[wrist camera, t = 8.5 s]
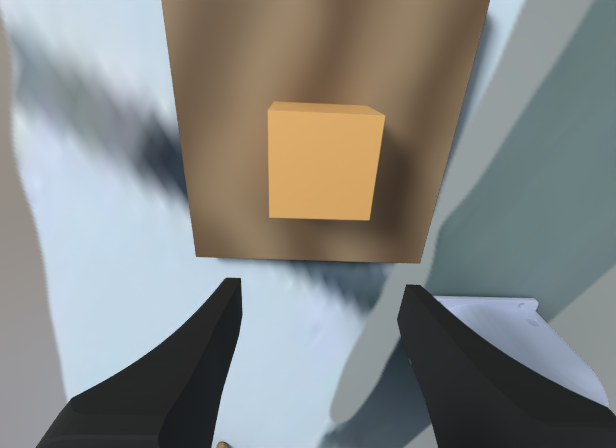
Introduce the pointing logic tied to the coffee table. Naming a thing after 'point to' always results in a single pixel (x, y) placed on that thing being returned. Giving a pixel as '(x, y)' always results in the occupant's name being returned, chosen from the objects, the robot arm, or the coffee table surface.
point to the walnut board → (323, 90)
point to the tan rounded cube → (322, 160)
